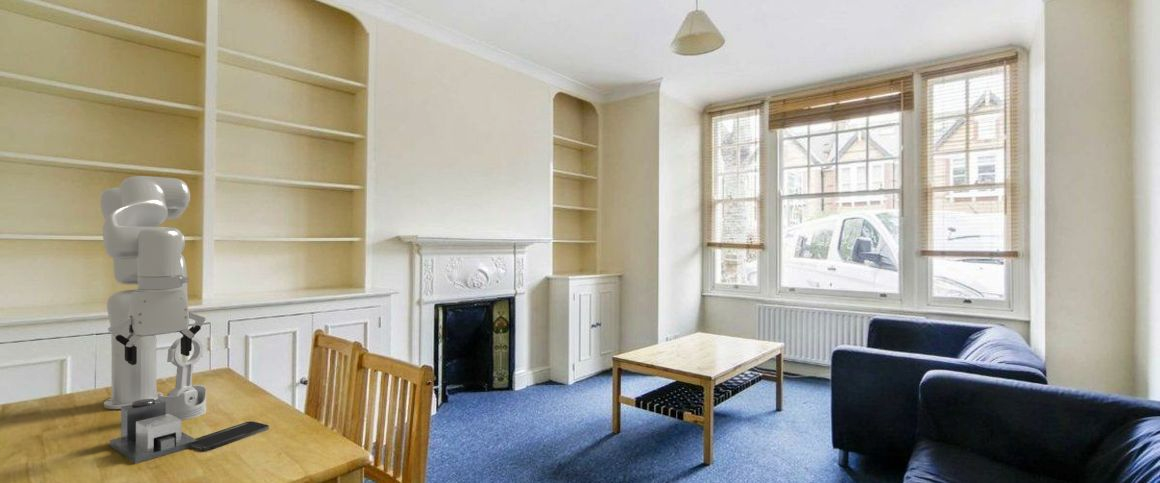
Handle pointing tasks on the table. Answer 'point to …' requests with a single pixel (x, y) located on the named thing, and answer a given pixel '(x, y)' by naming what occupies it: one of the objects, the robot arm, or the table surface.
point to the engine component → (185, 385)
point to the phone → (228, 435)
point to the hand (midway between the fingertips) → (159, 359)
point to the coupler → (161, 444)
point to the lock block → (157, 430)
